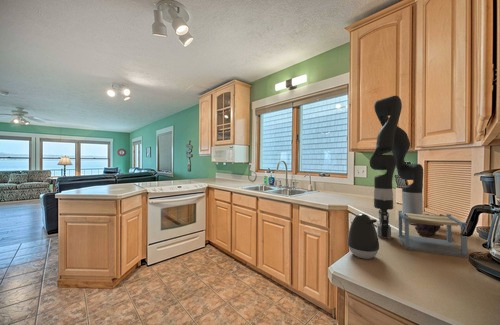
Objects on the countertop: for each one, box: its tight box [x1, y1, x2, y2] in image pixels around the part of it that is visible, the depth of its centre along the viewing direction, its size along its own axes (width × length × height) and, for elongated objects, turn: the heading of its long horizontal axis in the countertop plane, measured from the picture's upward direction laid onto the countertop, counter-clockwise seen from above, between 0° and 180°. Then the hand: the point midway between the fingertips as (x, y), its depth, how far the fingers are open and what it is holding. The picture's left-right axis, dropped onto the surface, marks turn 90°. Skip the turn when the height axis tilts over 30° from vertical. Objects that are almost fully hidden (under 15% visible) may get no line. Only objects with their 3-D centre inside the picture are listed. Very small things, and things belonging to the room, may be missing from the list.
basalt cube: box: [376, 222, 392, 239], centre depth 99 cm, size 5×5×5 cm
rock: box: [414, 213, 441, 237], centre depth 102 cm, size 12×9×10 cm
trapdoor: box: [404, 213, 459, 227], centre depth 88 cm, size 14×15×4 cm
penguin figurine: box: [347, 213, 380, 260], centre depth 78 cm, size 10×10×15 cm
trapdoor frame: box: [397, 210, 469, 259], centre depth 87 cm, size 17×18×12 cm
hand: (383, 234), depth 99 cm, fingers closed on basalt cube, 5 cm apart
